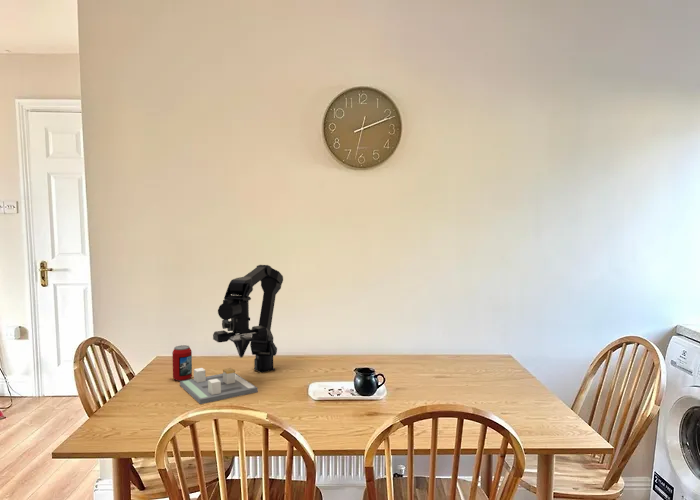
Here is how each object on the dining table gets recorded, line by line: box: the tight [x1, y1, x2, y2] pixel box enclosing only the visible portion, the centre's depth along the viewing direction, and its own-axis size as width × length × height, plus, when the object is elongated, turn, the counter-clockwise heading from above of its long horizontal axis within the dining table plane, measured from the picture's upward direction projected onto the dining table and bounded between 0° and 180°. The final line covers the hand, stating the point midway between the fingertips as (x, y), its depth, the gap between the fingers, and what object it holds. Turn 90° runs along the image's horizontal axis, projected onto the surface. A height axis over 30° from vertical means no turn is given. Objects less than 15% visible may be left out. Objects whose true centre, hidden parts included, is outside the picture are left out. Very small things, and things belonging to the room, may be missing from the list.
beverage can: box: [172, 344, 193, 382], centre depth 185 cm, size 7×7×12 cm
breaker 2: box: [208, 379, 221, 395], centre depth 166 cm, size 3×4×4 cm
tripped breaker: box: [222, 367, 236, 384], centre depth 177 cm, size 3×4×4 cm
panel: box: [179, 372, 259, 405], centre depth 175 cm, size 20×22×2 cm
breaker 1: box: [193, 367, 206, 383], centre depth 179 cm, size 3×4×4 cm
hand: (241, 357), depth 180 cm, fingers closed
